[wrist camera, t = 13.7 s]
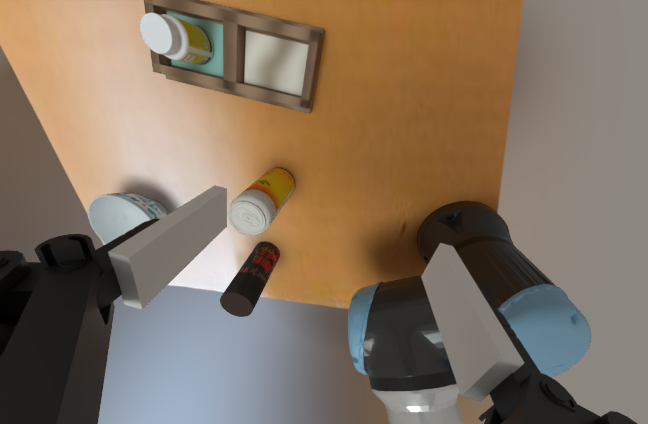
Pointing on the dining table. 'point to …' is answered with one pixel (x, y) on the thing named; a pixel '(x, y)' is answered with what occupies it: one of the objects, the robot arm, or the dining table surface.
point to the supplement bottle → (176, 38)
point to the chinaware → (121, 214)
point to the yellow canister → (261, 202)
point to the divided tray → (247, 54)
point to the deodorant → (250, 280)
